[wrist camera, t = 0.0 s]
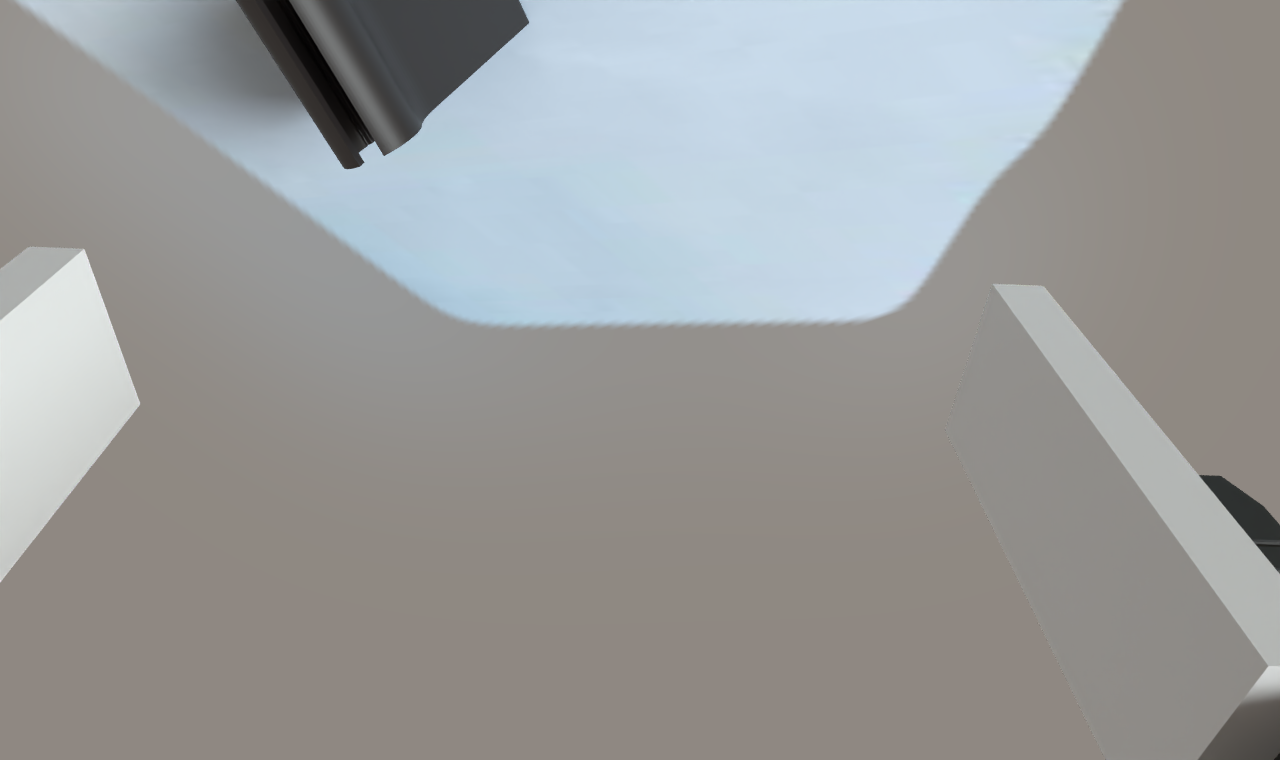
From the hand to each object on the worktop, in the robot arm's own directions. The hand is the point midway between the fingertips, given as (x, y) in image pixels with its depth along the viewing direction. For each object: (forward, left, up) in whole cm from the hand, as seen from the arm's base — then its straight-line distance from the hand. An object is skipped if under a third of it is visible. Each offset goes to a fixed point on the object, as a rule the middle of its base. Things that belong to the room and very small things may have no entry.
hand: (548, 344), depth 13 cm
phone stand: (+1, -8, -28) cm, 29 cm away
